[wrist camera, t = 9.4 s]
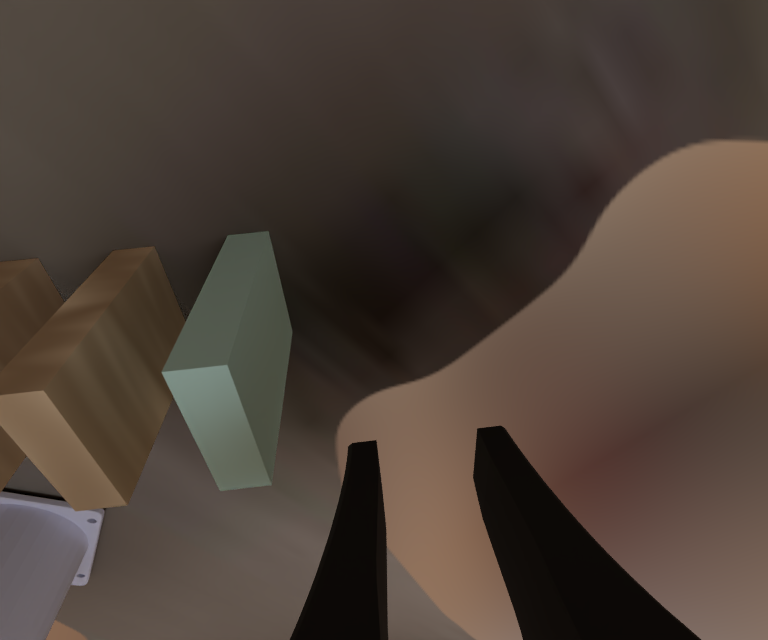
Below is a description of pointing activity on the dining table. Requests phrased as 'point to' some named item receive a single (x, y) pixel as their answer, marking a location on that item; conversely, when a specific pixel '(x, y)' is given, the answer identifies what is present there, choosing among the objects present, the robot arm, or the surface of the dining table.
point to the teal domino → (235, 363)
